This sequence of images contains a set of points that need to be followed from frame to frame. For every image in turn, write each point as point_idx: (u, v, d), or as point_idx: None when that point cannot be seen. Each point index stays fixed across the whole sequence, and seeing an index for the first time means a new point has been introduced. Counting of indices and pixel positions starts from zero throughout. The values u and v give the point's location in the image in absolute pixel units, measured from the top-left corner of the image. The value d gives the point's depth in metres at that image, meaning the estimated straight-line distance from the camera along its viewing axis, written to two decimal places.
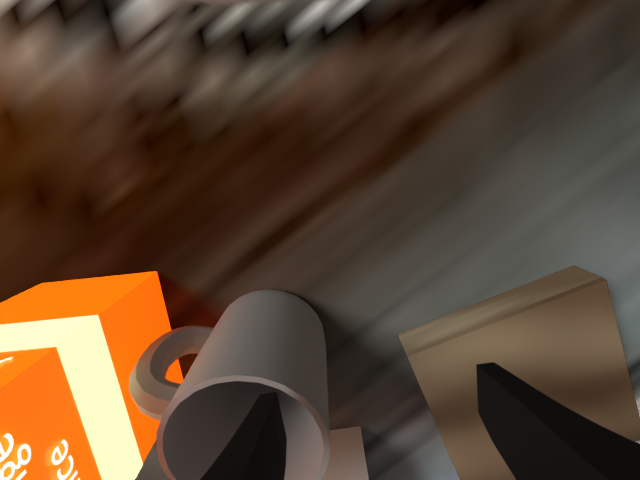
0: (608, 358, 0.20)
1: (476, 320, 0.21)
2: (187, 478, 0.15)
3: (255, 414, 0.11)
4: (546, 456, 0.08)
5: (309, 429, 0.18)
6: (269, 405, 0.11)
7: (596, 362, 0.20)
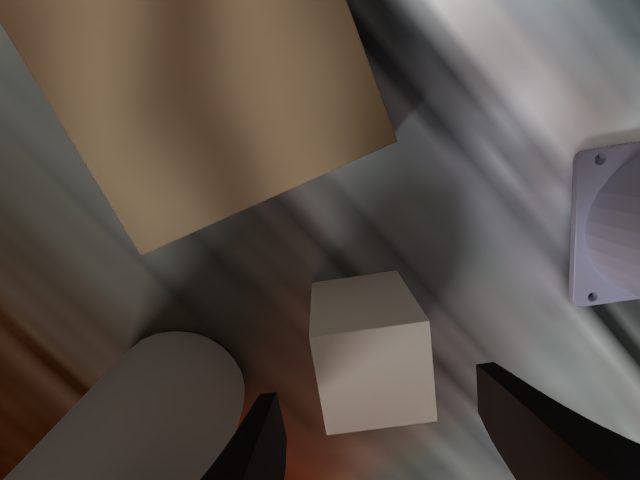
0: None
1: None
2: None
3: (255, 414, 0.11)
4: (546, 456, 0.08)
5: None
6: (269, 405, 0.11)
7: None
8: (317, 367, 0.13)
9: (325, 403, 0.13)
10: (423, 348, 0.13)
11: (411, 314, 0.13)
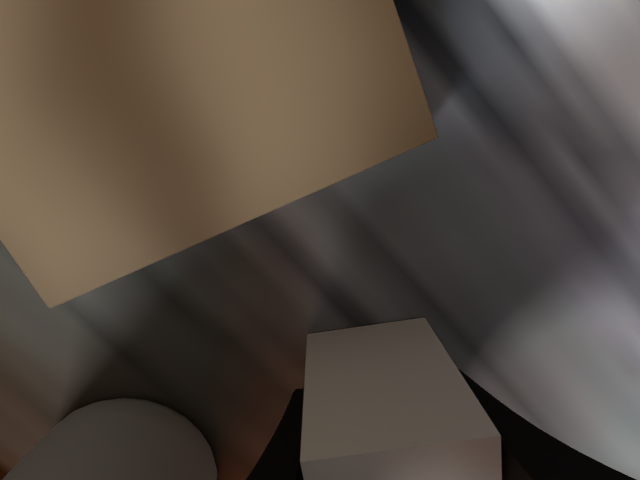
0: None
1: None
2: None
3: (295, 409, 0.11)
4: None
5: None
6: None
7: None
8: None
9: None
10: (488, 476, 0.08)
11: (466, 416, 0.08)
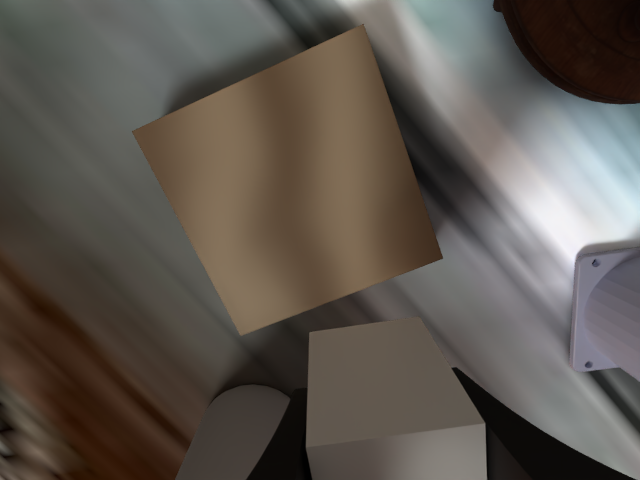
0: (235, 107, 0.16)
1: None
2: None
3: (295, 409, 0.11)
4: (494, 463, 0.08)
5: None
6: None
7: (241, 122, 0.16)
8: None
9: None
10: (474, 460, 0.09)
11: (454, 406, 0.09)
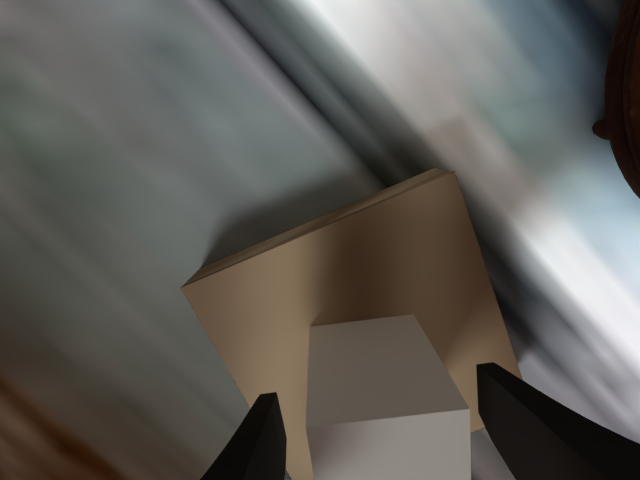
0: (301, 261, 0.14)
1: None
2: None
3: (255, 414, 0.11)
4: (546, 456, 0.08)
5: None
6: (269, 405, 0.11)
7: (308, 276, 0.14)
8: (316, 465, 0.10)
9: None
10: (459, 443, 0.09)
11: (442, 394, 0.10)
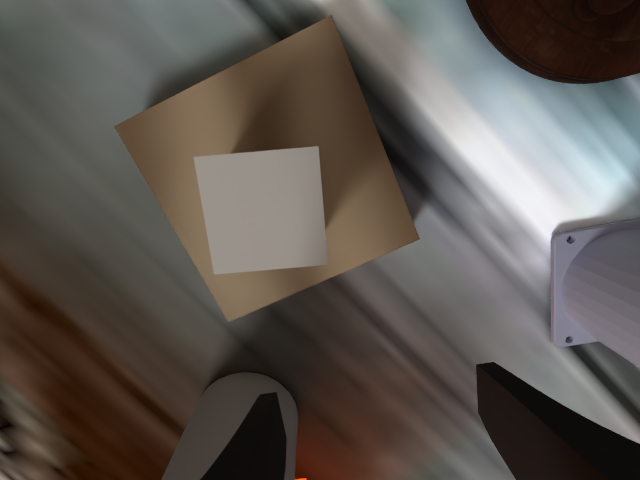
0: (212, 99, 0.17)
1: None
2: None
3: (255, 414, 0.11)
4: (546, 456, 0.08)
5: None
6: (269, 405, 0.11)
7: (219, 113, 0.17)
8: (202, 193, 0.12)
9: (212, 236, 0.13)
10: (312, 178, 0.12)
11: None
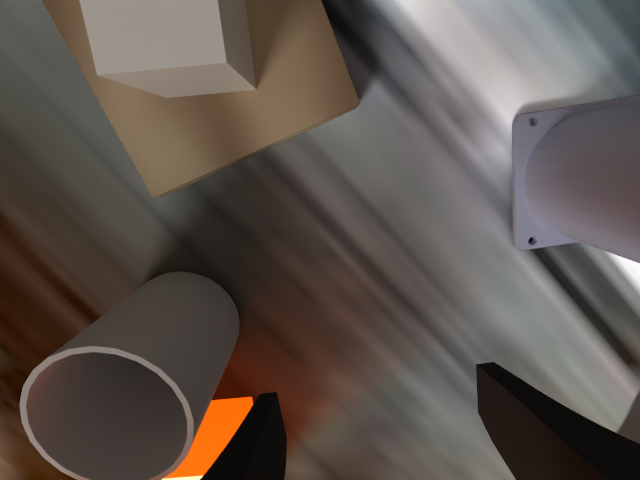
0: None
1: None
2: (166, 464, 0.15)
3: (255, 414, 0.11)
4: (546, 456, 0.08)
5: None
6: (269, 405, 0.11)
7: None
8: None
9: (90, 24, 0.11)
10: None
11: None
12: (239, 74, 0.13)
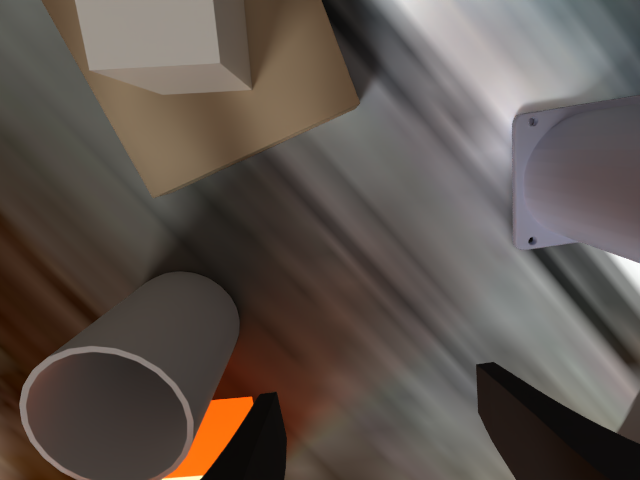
0: None
1: None
2: (166, 464, 0.15)
3: (255, 414, 0.11)
4: (546, 456, 0.08)
5: None
6: (269, 405, 0.11)
7: None
8: None
9: (84, 19, 0.11)
10: None
11: None
12: (234, 74, 0.13)
